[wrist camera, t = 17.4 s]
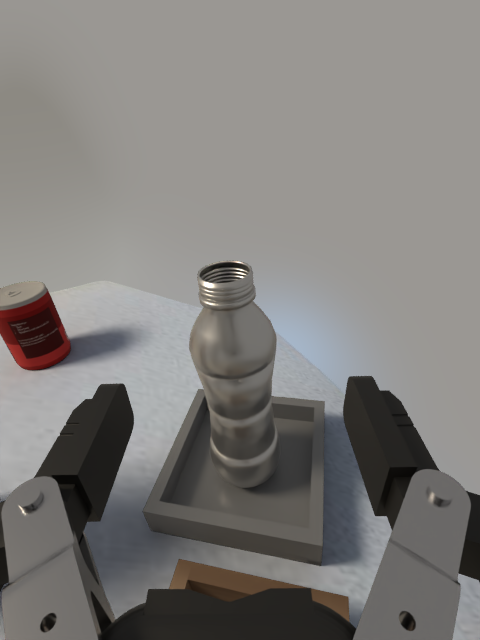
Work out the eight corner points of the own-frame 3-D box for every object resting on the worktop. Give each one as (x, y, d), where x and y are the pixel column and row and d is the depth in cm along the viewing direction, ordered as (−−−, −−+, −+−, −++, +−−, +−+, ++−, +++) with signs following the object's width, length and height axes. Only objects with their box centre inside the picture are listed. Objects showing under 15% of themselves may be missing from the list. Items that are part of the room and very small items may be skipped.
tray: (320, 565, 25) (322, 546, 23) (150, 530, 28) (142, 511, 27) (323, 421, 37) (324, 401, 35) (202, 407, 40) (198, 389, 38)
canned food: (40, 340, 56) (11, 280, 50) (82, 342, 54) (57, 280, 49) (5, 370, 50) (-33, 305, 44) (52, 373, 48) (19, 306, 42)
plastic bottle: (275, 432, 35) (267, 248, 24) (287, 495, 29) (283, 289, 19) (213, 438, 35) (179, 257, 24) (213, 503, 29) (167, 301, 19)
